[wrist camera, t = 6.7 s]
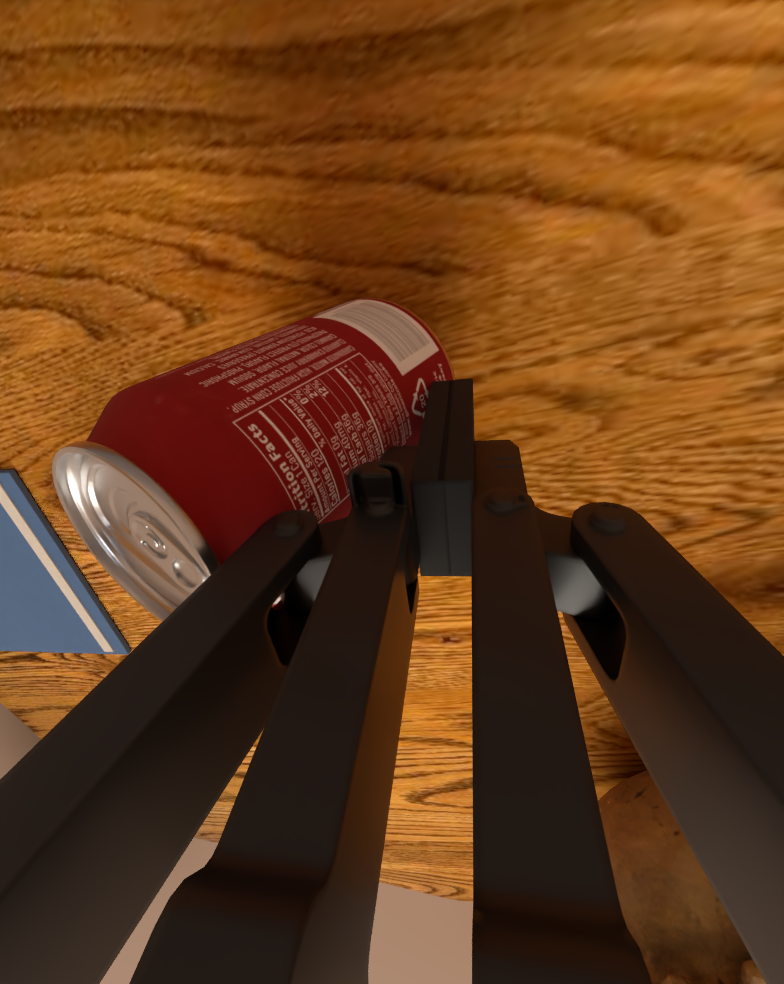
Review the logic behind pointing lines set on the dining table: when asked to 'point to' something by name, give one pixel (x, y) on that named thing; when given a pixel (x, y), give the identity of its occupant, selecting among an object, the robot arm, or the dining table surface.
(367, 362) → the soda can
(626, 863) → the clay pot
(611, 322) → the dining table surface
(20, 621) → the cloth
